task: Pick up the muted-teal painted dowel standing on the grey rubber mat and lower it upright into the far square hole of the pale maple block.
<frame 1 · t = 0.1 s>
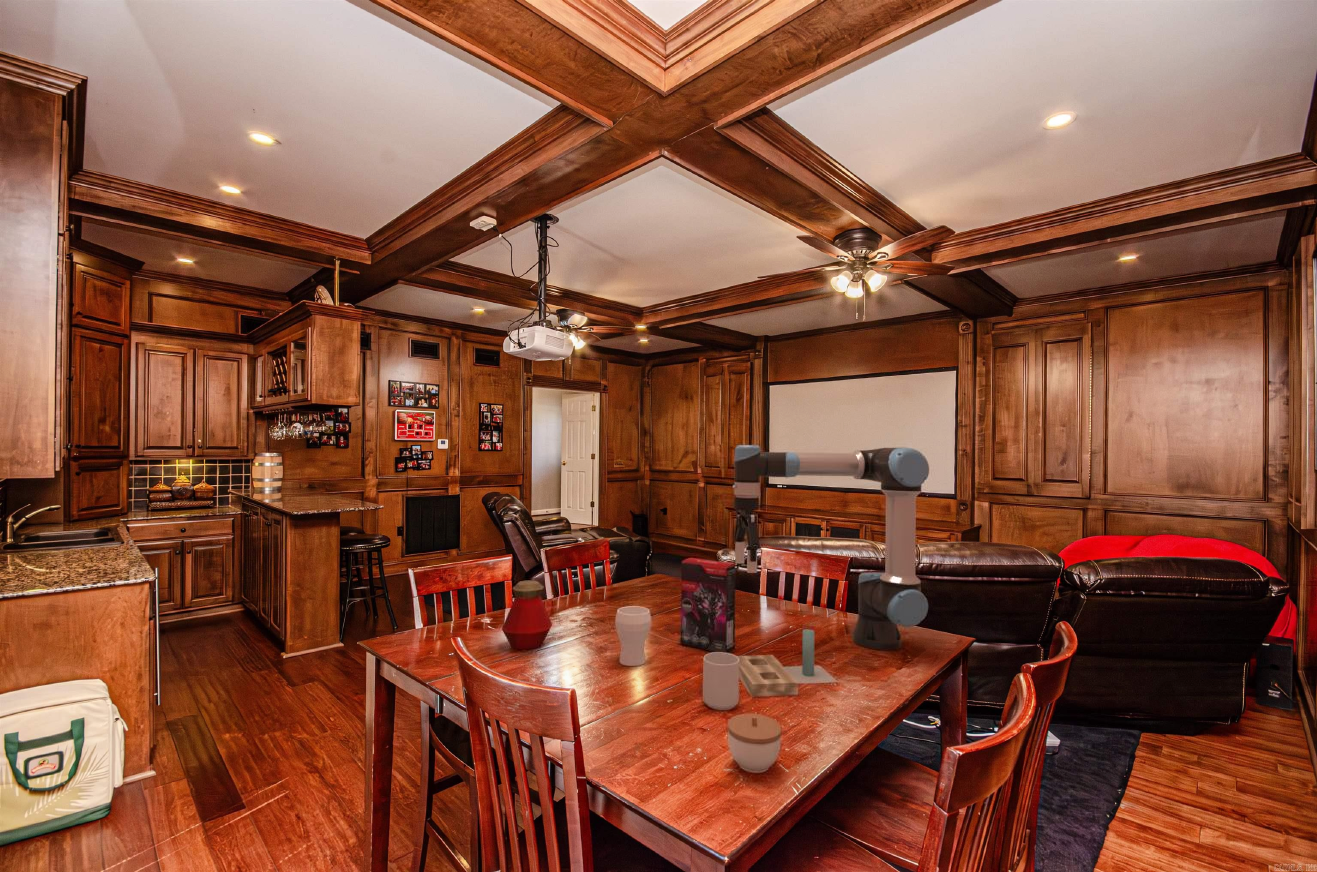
hand: (745, 567, 171), 28 cm above the table, fingers open, 13 cm apart
mug: (722, 701, 144), on the table
mat: (808, 675, 161), on the table
graphics card box: (706, 647, 183), on the table
peg: (808, 674, 161), resting on mat
lidded jar: (753, 765, 115), on the table
bottle: (526, 646, 181), on the table
hole block: (763, 681, 156), on the table
cup: (632, 662, 169), on the table
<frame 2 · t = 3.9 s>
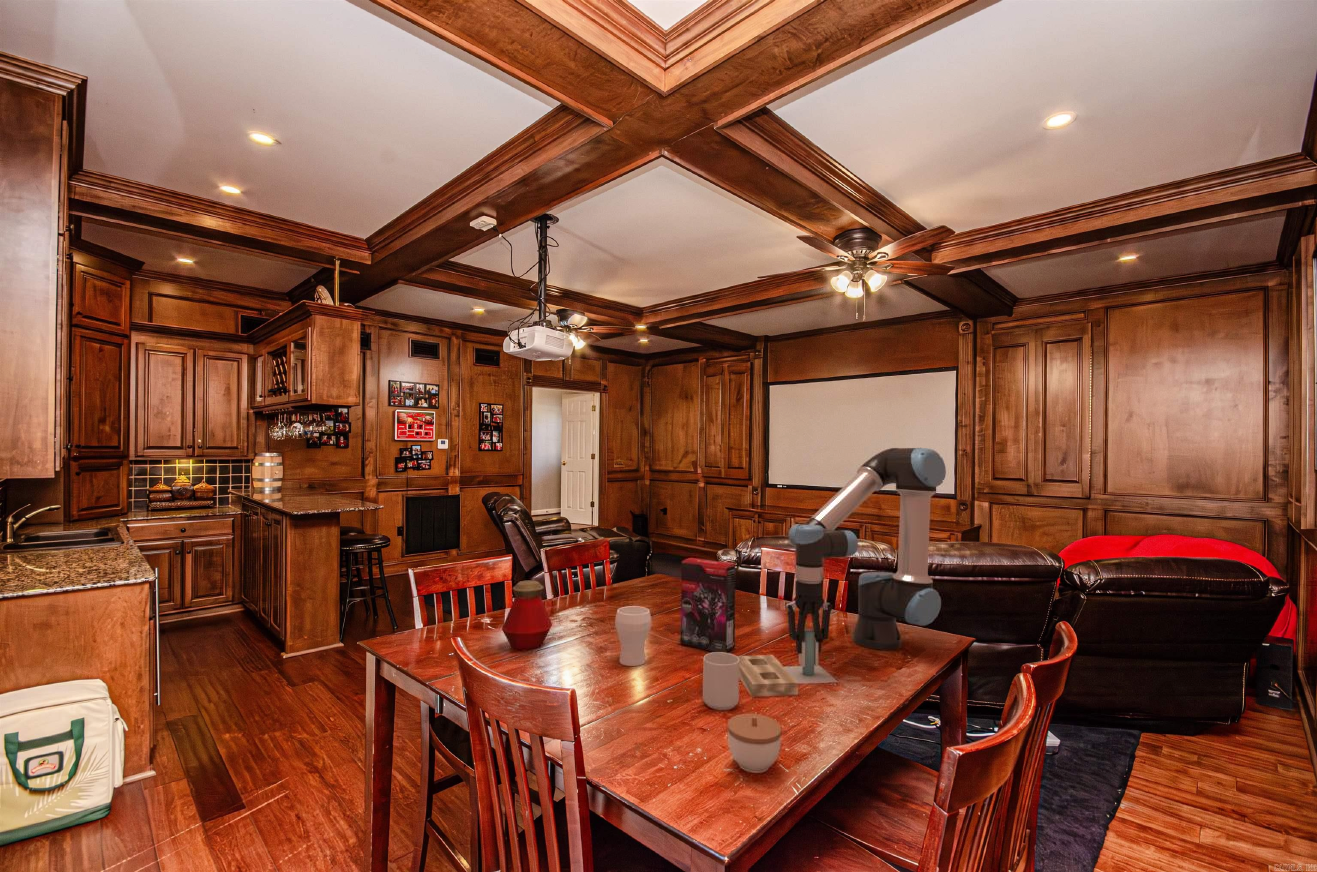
hand: (808, 664, 161), 3 cm above the table, fingers closed on peg, 3 cm apart
peg: (808, 673, 161), resting on mat, touching gripper
everything else where it was.
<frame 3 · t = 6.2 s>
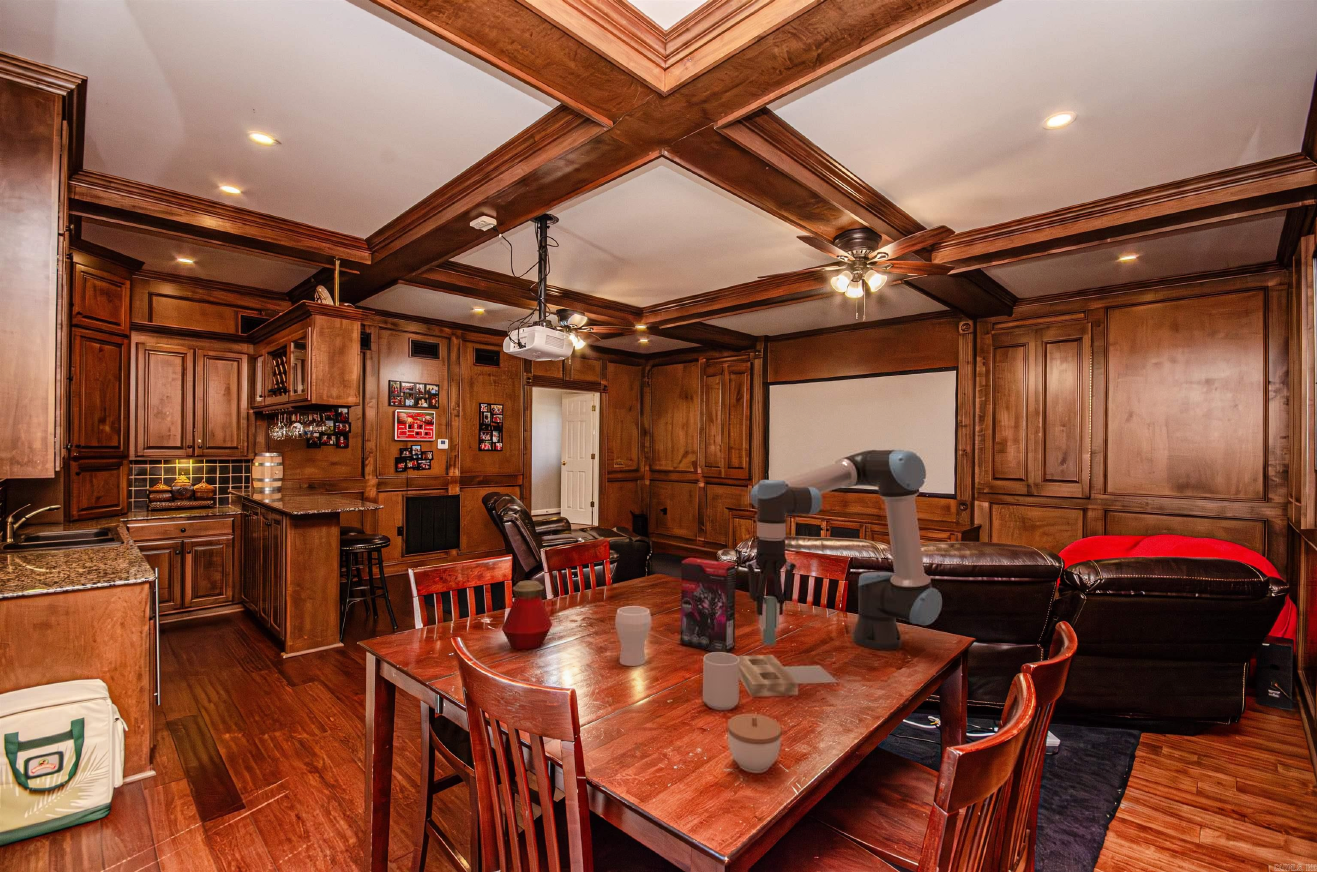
hand: (769, 627, 152), 16 cm above the table, fingers closed on peg, 3 cm apart
peg: (769, 643, 152), point 12 cm above the table, touching gripper
everything else where it was.
when the fingers open (5 cm above the table, at t = 8.8 s): peg stays where it is, resting in hole block.
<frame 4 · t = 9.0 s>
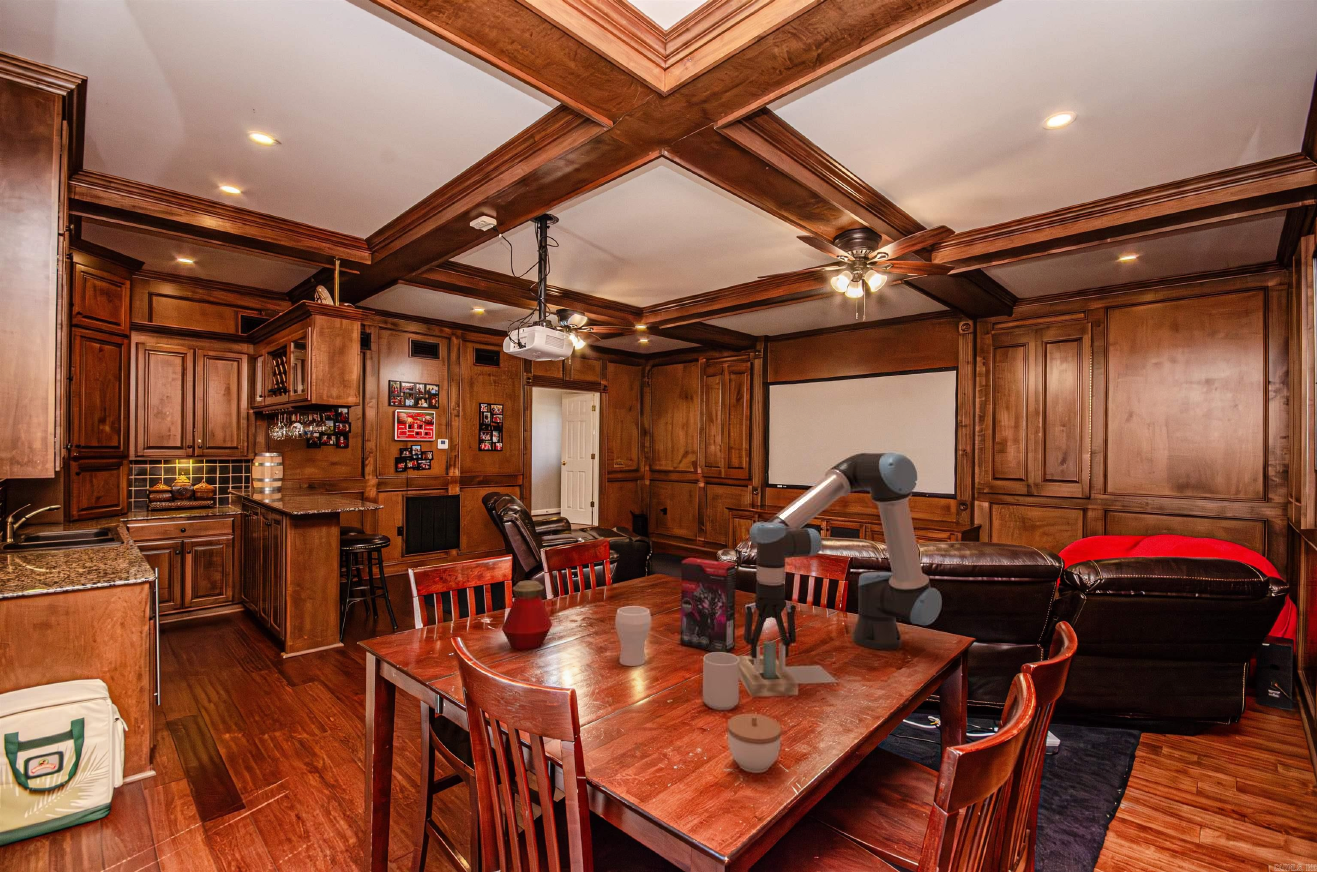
hand: (769, 669, 151), 5 cm above the table, fingers open, 6 cm apart
peg: (769, 689, 151), resting in hole block
everything else where it was.
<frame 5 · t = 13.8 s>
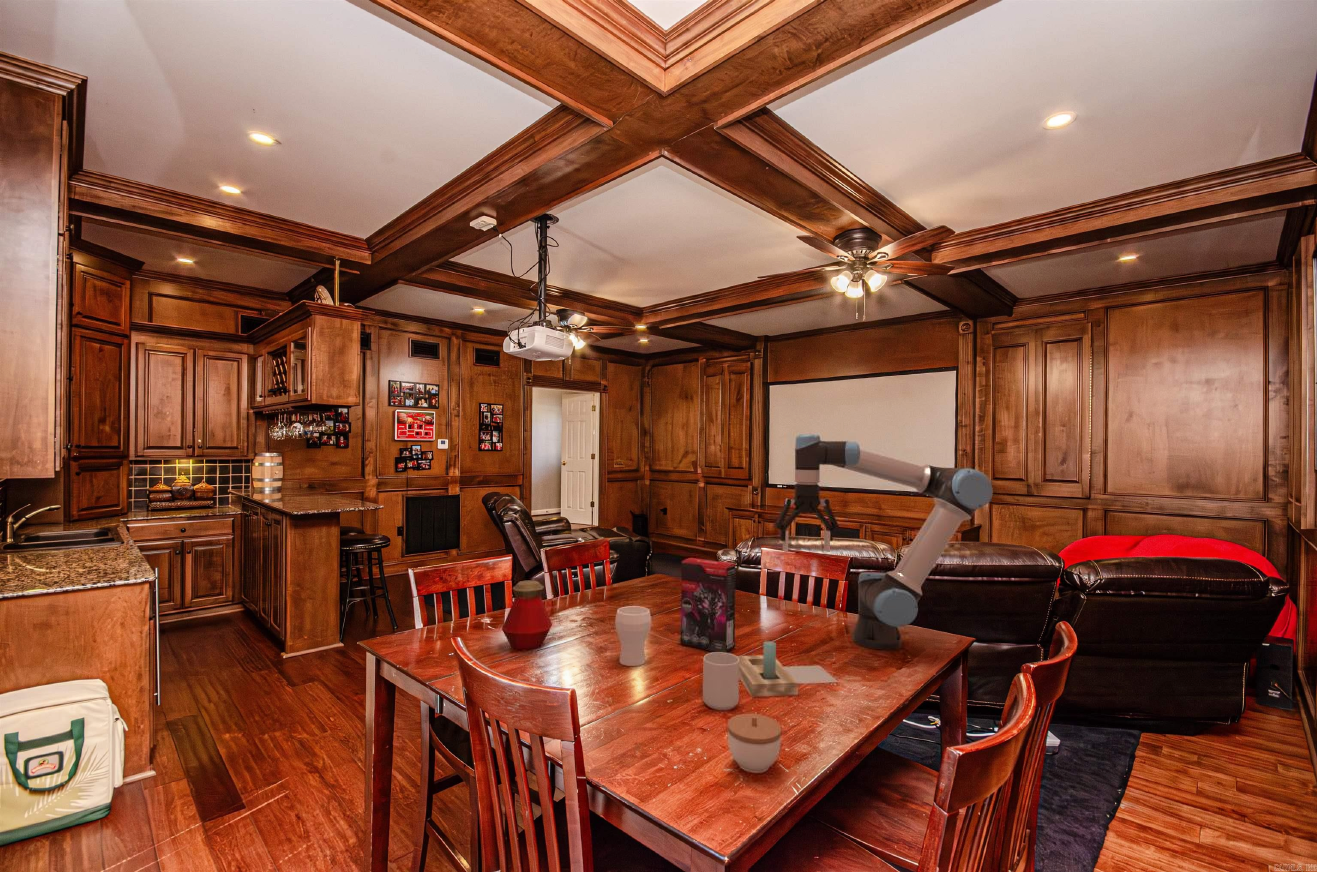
hand: (806, 551, 180), 32 cm above the table, fingers open, 13 cm apart
nothing on the table moved.
at the end: peg 0.0 cm from the target spot on the hole block, point 0.0 cm above the hole block's base; peg tilted 0°; the gripper is holding nothing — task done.
